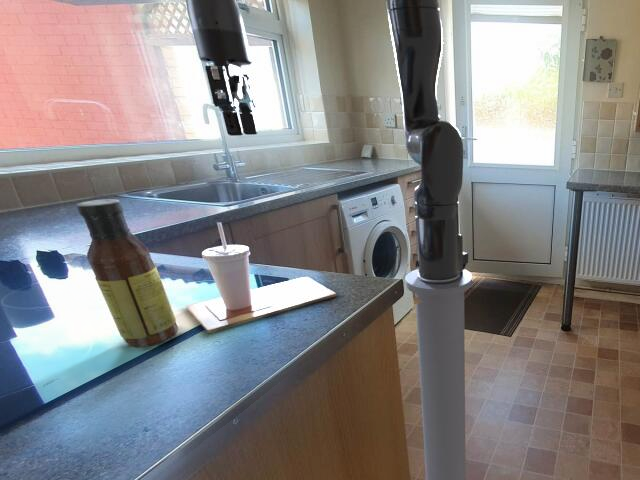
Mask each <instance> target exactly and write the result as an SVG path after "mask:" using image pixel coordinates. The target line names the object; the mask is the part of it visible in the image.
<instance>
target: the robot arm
mask: <svg viewBox="0 0 640 480" xmlns="http://www.w3.org/2000/svg"><path fill="white" fill-rule="evenodd" d="M185 1H186V3H185V4H186V11H187V16H188V19H189V23H190V28H191V32H192V35H193V39H194V42H195V46H196V51H197V55H198V58H199V60H200V61H201V62H203V63H205V64H211V65H205V72H206V76H207V82H208V85H209V89H210V94H211V98H212V103H213V105H214V107H216V108H218V110H219V111H220V112H221V113H222V117H223V121H224V126H225V130H226V131H227V134H228V136H231V137H233V136H235V137H238V136H243V135H247V136H248V135H250V136H251V135H253V136H254V135H257V134H259V133H258V132H259V131H258V128H257V124H256V119H255V114H254V113H255V112H256V110H257V107H258V106H257V104H256V99H255V95H254V91H253V86H252V82H251V77H250V75H249V74H244V73H243V70H242V66H250V65H251V64H252V62H253V61H252V55H251V50H250V46H249V41H248V37H247V32H246V28H245V22H244V19H243V15H242V11H241V10H240V6H239V3H238V0H185ZM385 2H386V3H385V5H386V13H387V19H388V25H389V30H390V35H391V36H390V37H391V41H392V47H393V53H394V58H395V64H396V65H395V66H396V70H397V76H398V83H399V87H400V94H401V103H402V116H403V131H404V142H405V148H406V150H407V153H408V155H409V157H410V158H411V160H413V161H414V162H415V163H416V164H418V165H419V166H420V182H419V184H418V185H417V186H415V188H414V191H413V196H414V197H413V200H414V216H415V232H416V235H415V236H416V251H417V253H416V254H417V260H416V261H415V262H414V263H415V269H418V278H419V280H421V281H422V282H425V283H429V284H446V283H451V282H454V281H456V280H458V279H459V278H460V276H463V270H464V269H465V268H466V266H467V264H468V263H469V253H468V252H465V251H464V242H463V241H464V240H463V239H464V237H463V236H462V235H463V234H460V208H459V207H460V206H459V205H460V202H459V199H460V194H461V193H460V192H461V191H462V188H463V180H464V179H463V177H464V171H463V170H464V144H463V140H462V135H461V133H460V131H459V129H458V128H457V127H456V126H455V125H454V124H453V123H452V122H449V121H446V120H441V119H440V117H441V116H440V112H439V105H438V98H437V97H438V96H437V85H438V79H439V78H438V77H439V71H440V67H441V62H442V61H441V60H442V56H443V55H442V54H443V44H444V42H443V39H444V38H443V27H442V19H441V10H440V9H441V8H440V2H439V0H385Z"/></svg>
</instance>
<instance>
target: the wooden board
mask: <svg viewBox="0 0 640 480" xmlns="http://www.w3.org/2000/svg"><path fill="white" fill-rule="evenodd" d="M335 297H338V296H337V292H335V291H333V290H331V289H329V288H328V287H326V286H324V285H323V284H321V283H319V282H318V281H316V280H314V279H312V278H311V277H309V276H303V277H299V278H294V279H290V280H287V281H281V282H278V283H273V284H269V285H266V286H261V287H256V288H254V289H251V298H252V304H251V305H250V306H248V307H246V308H243V309H238V310H229V309H227V308H226V306H225V304H224V302H223V299H222V297H221V296H219V297H217V298H212V299H208V300H204V301H201V302H200V301H199V302H196V303H192V304H187V305H185V307H186V310H187V311H188V312H189V313H190V314H191V316H193V317H194V319H195V320H196V321H197V322H198V323H199V325H201V327H202V329H204V330H205V331H206V333H208V334H212V333H215V332H219V331H223V330H227V329H230V328H233V327H237V326H240V325H243V324H246V323H251V322H253V321H257V320H260V319H264V318H267V317H270V316H274V315H277V314H281V313H284V312H288V311H291V310H294V309H298V308H301V307H304V306H308V305H311V304H315V303H319V302H323V301H325V300H329V299H332V298H335Z"/></svg>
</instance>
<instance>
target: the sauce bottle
mask: <svg viewBox="0 0 640 480" xmlns="http://www.w3.org/2000/svg"><path fill="white" fill-rule="evenodd" d="M76 208H77V211H78V215H80V217H82V218H83V220H84V222H85V225H86V228H87V229H88V233H89V237H90V239H91V242H90V245H89V247H88V249H87V253H86V254H87V255H86V258H87V261H88V262H89V265H90V268H91V269H92V271H93V272H92V273H94V276H95V277H94V278H95V281H96V283H97V285H98V288H99V289H100V292H101V295H102V296H103V298H104V300H105V303H106V306H107V307H108V310H109V313H110V314H111V317H112V319H113V322H114V324H115V326H116V328H117V331H118V333H119V335H120V338H122V339H123V341H124V343H125V344H127V345H128V346H129V347H134V348H141V347H147V346H148V347H149V346H151V347H152V346H155V345H158V344H161V343H164V342H167V341H169V340H171V339H172V338H173V337H175V336H176V335H177V333H179V331H178V330H179V326H178V324H177V319H176V316H175V314H174V310H173V308H172V305H171V303H170V300H169V298H168V294H167V292H166V290H165V287H164V284H163V282H162V281H163V280H162V279H161V276H160V274H159V271H158V268H157V266H156V263H155V262H154V261H153V259H152V256H151V253H150V250H149V248H148V247H147V246H146V245H145V244H143V243H142V242H141V241H140V240H139V239H138V238H137V237H136V236H135V235H134V234H133V233H132V232H131V228H129V227H128V223H127V221H126V218H125V215H124V208H123V205H122V203H121V201H120V200H119V199H112V198H111V199H95V200H86V201H82V202H79V203H77V204H76Z"/></svg>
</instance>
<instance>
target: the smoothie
mask: <svg viewBox="0 0 640 480" xmlns="http://www.w3.org/2000/svg"><path fill="white" fill-rule="evenodd" d="M216 225H217V228H218V233H219V237H220V240H221V245H217V246H213V247H209V248H206V249H204V250H203V251H202V252H201V256H202V260H203V261H204V262H206V265H207V267H208V269H209V272H210V274H211V276H212V279H213V281H214V284H215V285H216V288H217V290H218V293H219V295H220V297H222V299H223V302H224V304H225V306H226V308H227V309H229V310H238V309H243V308H246V307H248V306H250V305H251V304H252V298H251V290H252V287H251V285H252V284H251V275H250V260H249V259H250V258H249V256H250V255H251V251H250V247H249V246H247V245H243V244H227V241H226V240H227V239H226V237H225V232H224V228H223V224H222V222H220V221H218V222H216Z"/></svg>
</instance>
